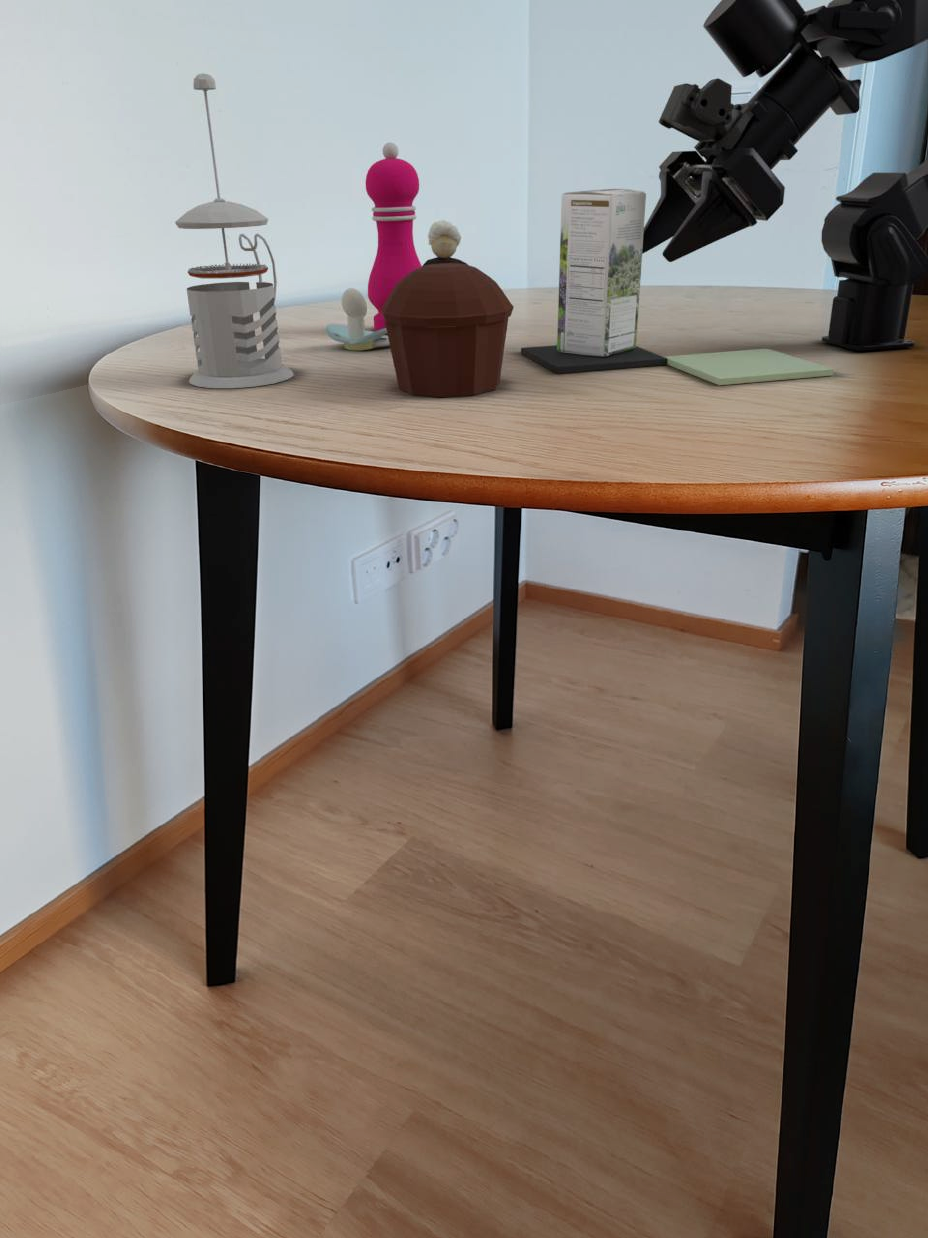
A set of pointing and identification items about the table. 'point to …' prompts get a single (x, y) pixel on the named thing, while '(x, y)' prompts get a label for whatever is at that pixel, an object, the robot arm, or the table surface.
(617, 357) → the charcoal mat
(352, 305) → the pacifier
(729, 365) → the sage mat
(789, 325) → the table surface
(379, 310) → the pepper mill
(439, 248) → the grandmother figurine
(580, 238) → the syrup box
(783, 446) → the table surface
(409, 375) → the muffin
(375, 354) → the table surface
